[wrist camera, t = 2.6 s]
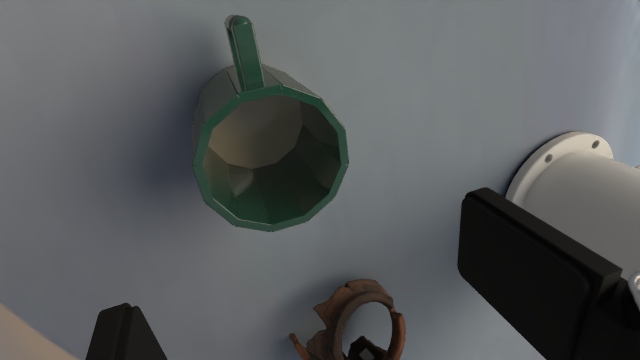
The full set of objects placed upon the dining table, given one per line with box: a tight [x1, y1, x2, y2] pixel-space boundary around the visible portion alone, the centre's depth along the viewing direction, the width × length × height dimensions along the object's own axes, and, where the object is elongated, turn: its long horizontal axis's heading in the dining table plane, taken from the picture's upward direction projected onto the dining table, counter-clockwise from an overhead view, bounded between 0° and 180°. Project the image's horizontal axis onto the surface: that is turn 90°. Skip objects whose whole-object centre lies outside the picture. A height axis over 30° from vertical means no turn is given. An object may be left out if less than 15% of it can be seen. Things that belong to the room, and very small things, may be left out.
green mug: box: [192, 15, 349, 232], centre depth 20 cm, size 10×7×8 cm
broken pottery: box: [290, 279, 406, 360], centre depth 32 cm, size 12×10×8 cm
